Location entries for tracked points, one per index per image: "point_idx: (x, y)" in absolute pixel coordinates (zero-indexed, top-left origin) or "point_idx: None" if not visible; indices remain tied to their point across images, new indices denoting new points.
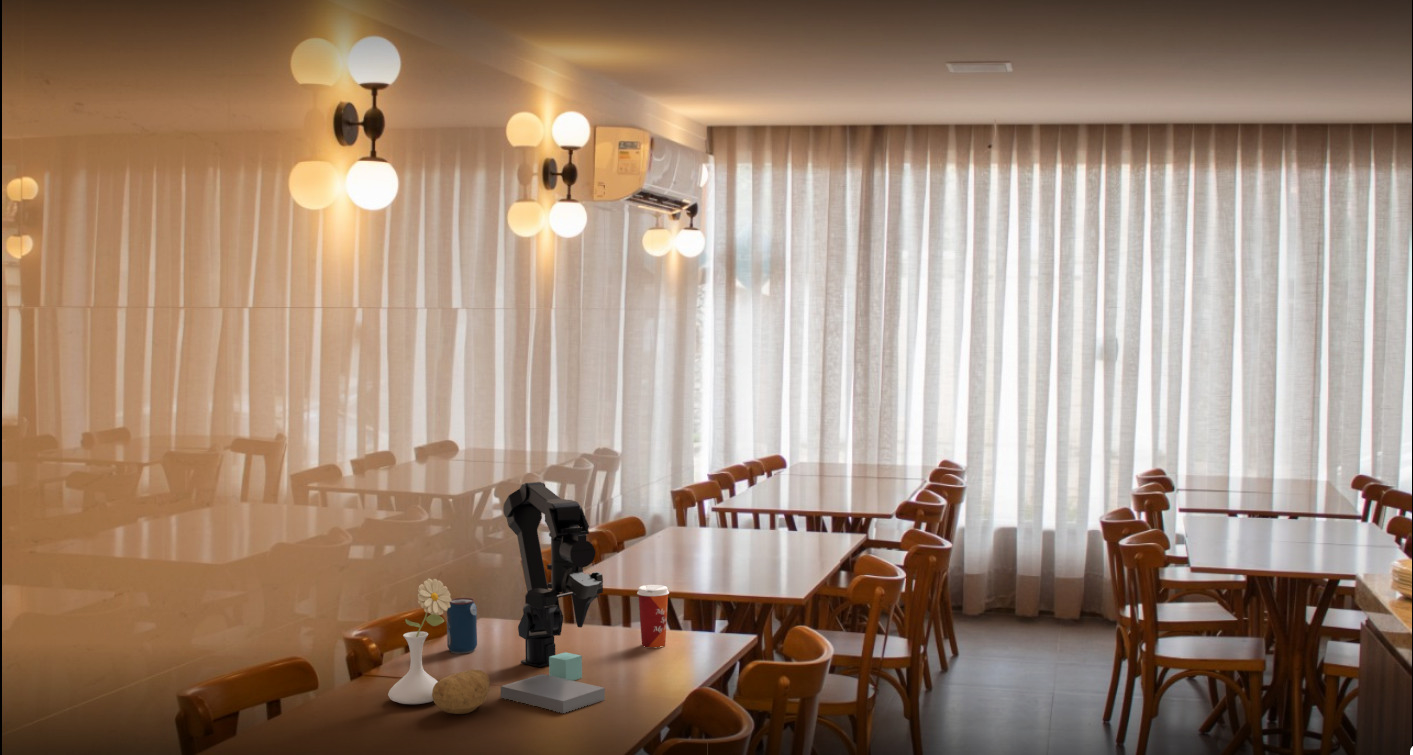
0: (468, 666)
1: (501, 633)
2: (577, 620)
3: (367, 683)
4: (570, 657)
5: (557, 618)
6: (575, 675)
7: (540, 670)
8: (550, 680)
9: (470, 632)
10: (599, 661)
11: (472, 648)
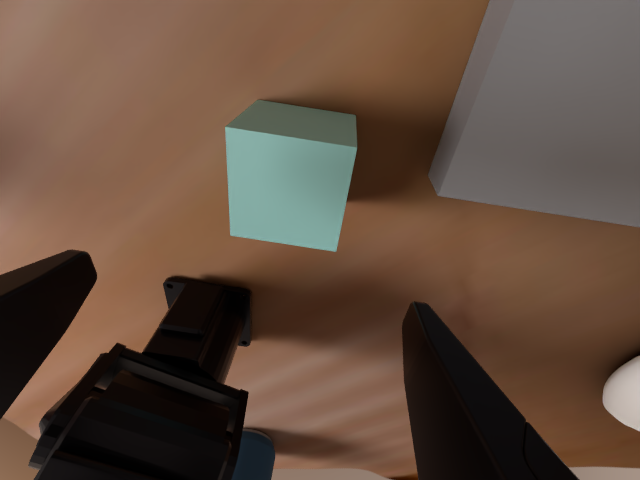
0: (335, 399)
1: None
2: (60, 316)
3: None
4: (293, 159)
5: (101, 417)
6: (294, 110)
7: (269, 275)
8: (550, 90)
9: (241, 476)
10: (55, 181)
11: (245, 435)
